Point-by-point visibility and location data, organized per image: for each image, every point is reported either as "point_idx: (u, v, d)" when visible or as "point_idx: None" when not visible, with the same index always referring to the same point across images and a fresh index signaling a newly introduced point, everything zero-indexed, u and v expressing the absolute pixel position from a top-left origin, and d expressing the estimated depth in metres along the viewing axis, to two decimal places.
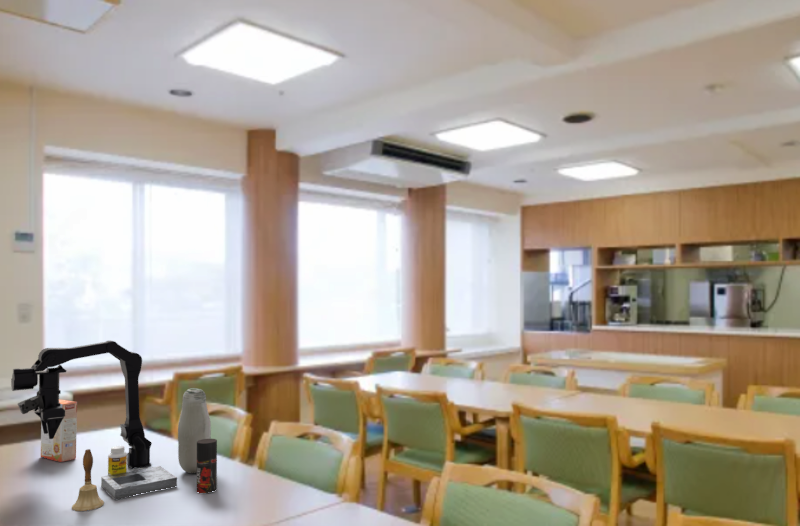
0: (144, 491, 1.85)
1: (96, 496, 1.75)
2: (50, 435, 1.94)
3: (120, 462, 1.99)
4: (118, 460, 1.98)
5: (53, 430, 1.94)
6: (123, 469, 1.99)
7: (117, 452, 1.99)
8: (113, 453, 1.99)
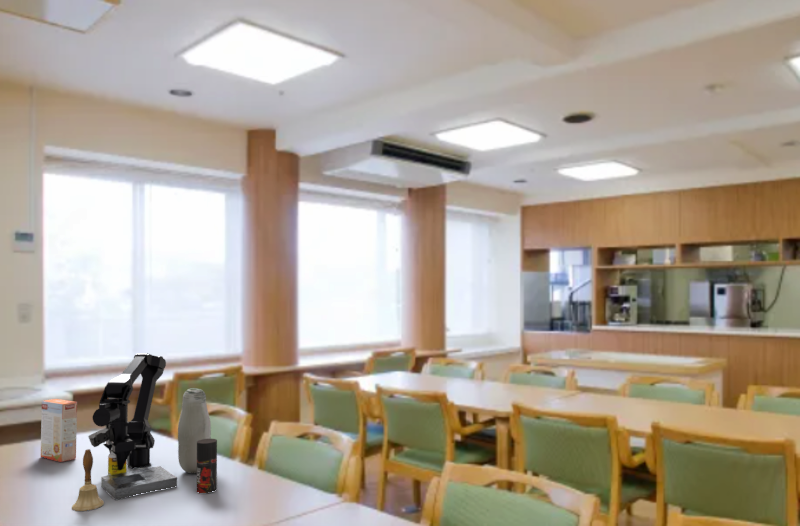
0: (144, 491, 1.85)
1: (96, 496, 1.75)
2: (119, 466, 1.98)
3: None
4: None
5: (122, 461, 1.98)
6: (123, 469, 1.99)
7: None
8: (113, 453, 1.99)
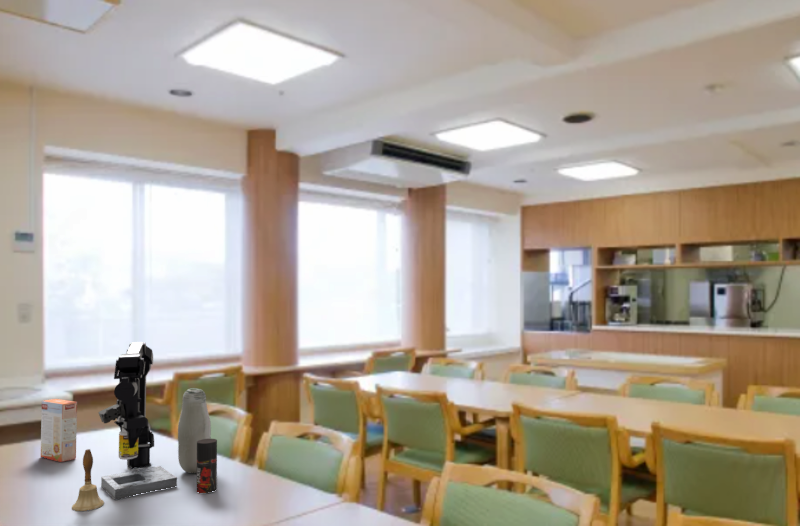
0: (144, 491, 1.85)
1: (96, 496, 1.75)
2: (130, 444, 1.88)
3: None
4: None
5: (134, 439, 1.88)
6: (135, 448, 1.90)
7: None
8: (124, 430, 1.89)
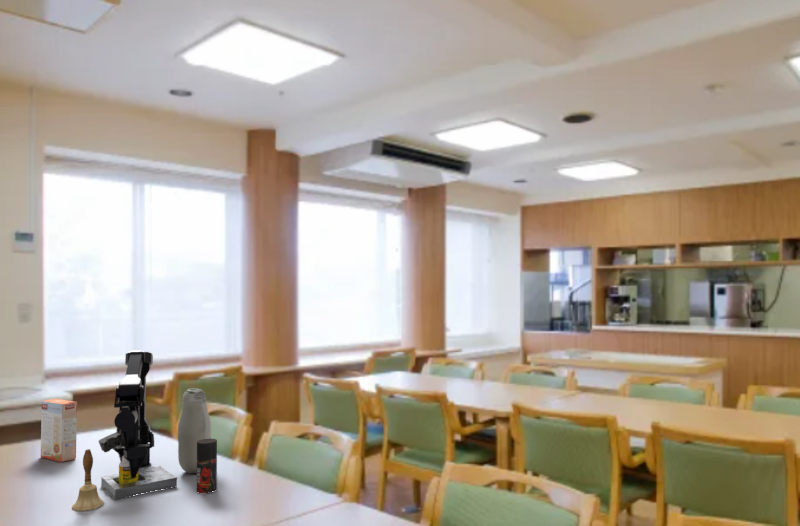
0: (144, 491, 1.85)
1: (96, 496, 1.75)
2: (132, 474, 1.86)
3: None
4: (129, 469, 1.88)
5: (135, 468, 1.87)
6: (135, 479, 1.89)
7: None
8: (124, 462, 1.89)
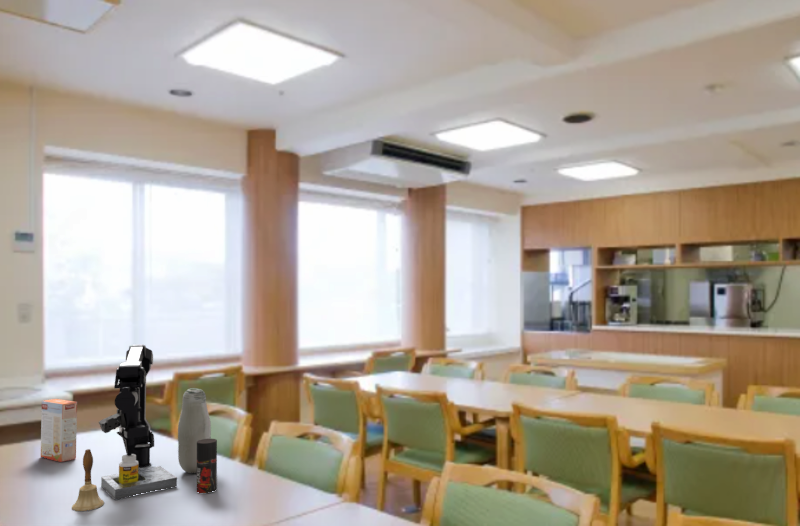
0: (144, 491, 1.85)
1: (96, 496, 1.75)
2: (128, 452, 1.90)
3: (132, 472, 1.89)
4: (129, 469, 1.88)
5: (131, 447, 1.90)
6: (135, 479, 1.89)
7: (129, 460, 1.89)
8: (124, 462, 1.89)
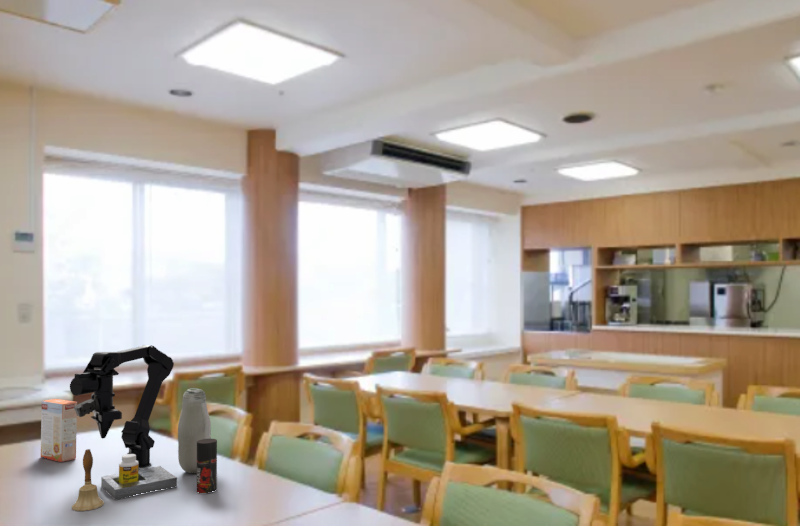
0: (144, 491, 1.85)
1: (96, 496, 1.75)
2: (102, 435, 2.01)
3: (132, 472, 1.89)
4: (129, 470, 1.88)
5: (105, 430, 2.01)
6: (135, 479, 1.89)
7: (129, 460, 1.89)
8: (124, 462, 1.89)
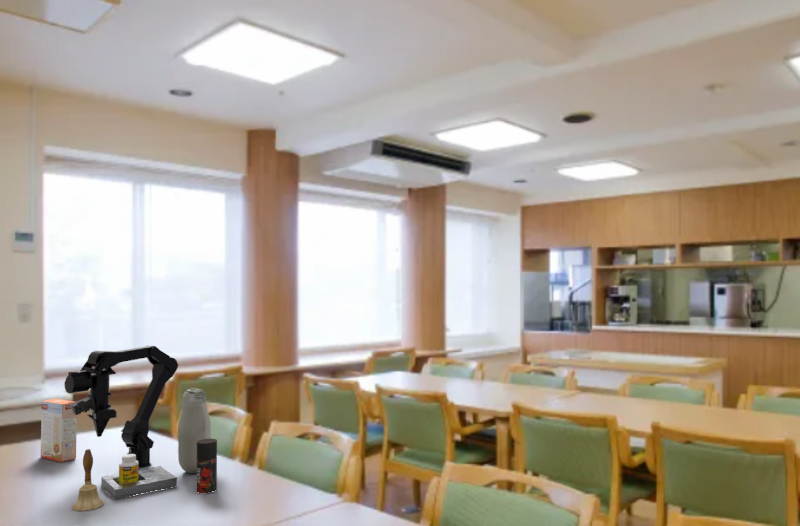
0: (144, 491, 1.85)
1: (96, 496, 1.75)
2: (98, 433, 2.03)
3: (132, 472, 1.89)
4: (129, 470, 1.88)
5: (101, 428, 2.03)
6: (135, 479, 1.89)
7: (129, 460, 1.89)
8: (124, 462, 1.89)
